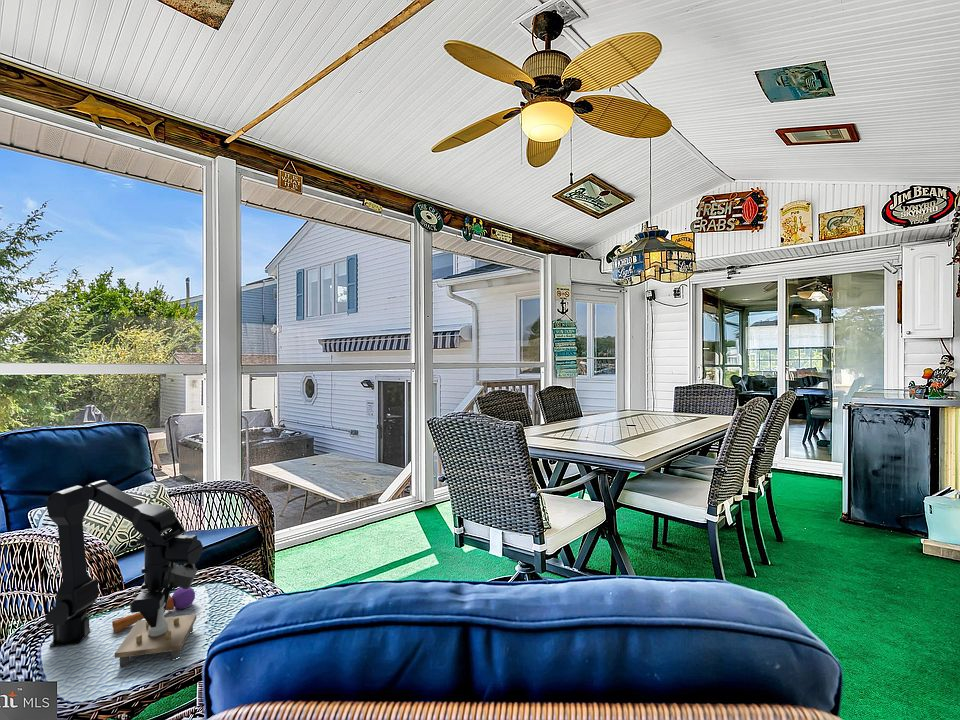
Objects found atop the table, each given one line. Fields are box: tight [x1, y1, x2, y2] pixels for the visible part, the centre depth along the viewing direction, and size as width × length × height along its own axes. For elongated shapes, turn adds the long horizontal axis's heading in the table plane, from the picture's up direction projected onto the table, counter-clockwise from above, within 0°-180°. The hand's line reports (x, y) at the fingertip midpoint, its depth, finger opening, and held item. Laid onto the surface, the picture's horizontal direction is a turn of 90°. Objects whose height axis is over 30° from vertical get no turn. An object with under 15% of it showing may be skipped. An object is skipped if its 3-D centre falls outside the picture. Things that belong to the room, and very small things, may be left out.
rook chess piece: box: [148, 603, 168, 637], centre depth 128 cm, size 4×4×8 cm
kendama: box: [111, 587, 196, 634], centre depth 142 cm, size 6×6×20 cm
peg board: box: [114, 613, 197, 668], centre depth 128 cm, size 14×14×6 cm
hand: (158, 619), depth 128 cm, fingers open, 6 cm apart
